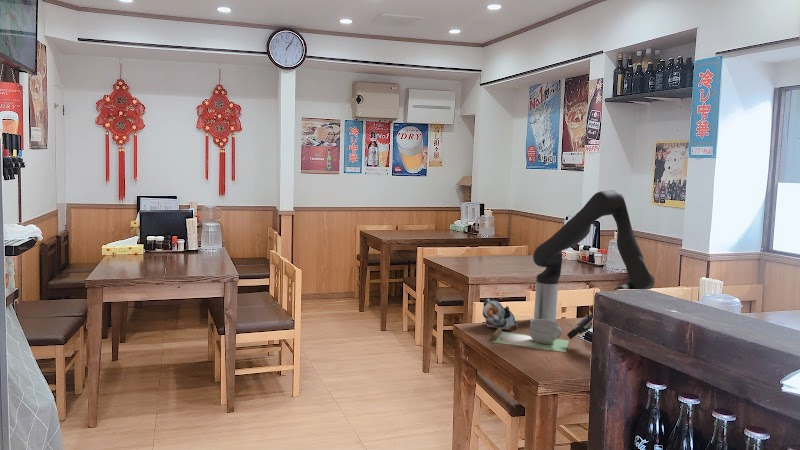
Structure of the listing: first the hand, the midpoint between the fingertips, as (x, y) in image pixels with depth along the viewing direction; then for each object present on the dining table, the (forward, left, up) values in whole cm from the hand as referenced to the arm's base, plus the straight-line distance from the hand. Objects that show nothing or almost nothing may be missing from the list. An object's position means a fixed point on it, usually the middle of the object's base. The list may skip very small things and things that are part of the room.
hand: (568, 336), depth 232 cm
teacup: (0, -8, -4) cm, 9 cm away
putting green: (0, -14, -4) cm, 14 cm away
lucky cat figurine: (-15, -28, -4) cm, 32 cm away
